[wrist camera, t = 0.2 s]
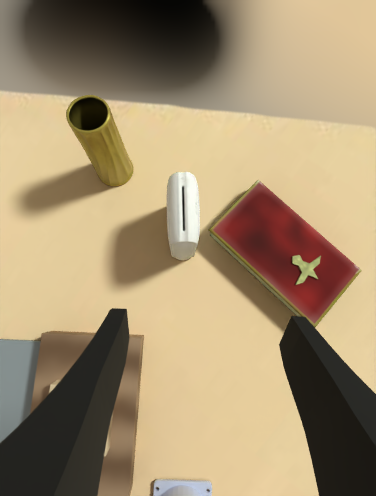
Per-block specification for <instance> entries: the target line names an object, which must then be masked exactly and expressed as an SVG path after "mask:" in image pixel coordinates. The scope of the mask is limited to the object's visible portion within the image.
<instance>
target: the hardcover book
mask: <svg viewBox="0 0 376 496" xmlns="http://www.w3.org/2000/svg"><path fill="white" fill-rule="evenodd" d="M209 231H210V232H211V234H210V236H211V237H212V238H214V239H215V240H216V241H217V242H218V243H219V244H220V245H221V246H222V247H223V248H224V249H225V250H226V251H228V252H229V253H230V254H231V255H232V256H233V257H234V258H235V259H236V260H237V261H238V262H239V263H240V264H242V265H243V266H244V267H245V268H246V269H247V270H248V271H249V272H250V273H251V274H252V275H253V276H254V277H256V278H257V279H258V280H259V281H260V282H261V283H262V284H263V285H264V286H265V287H266V288H267V289H268V290H270V291H271V292H272V293H273V294H274V295H275V296H276V297H277V298H278V299H279V300H280V301H281V302H283V303H284V304H285V305H286V306H287V307H288V308H289V309H290V310H291V311H292V312H293V313H294V314H295V315H297V316H302V317H306V318H307V319H308V320H309V322H310V323H311V324H312V325H313V326H314V327H316V326H317V325H318V323H319V322H320V321H321V320H322V318H323V317H324V316H325V315H326V314H327V312H328V311H329V310H330V309H331V307H332V306H333V305H334V304H335V303H336V301H337V300H338V299H339V298H340V296H341V295H342V294H343V293H344V291H345V290H346V289H347V288H348V287H349V285H350V284H351V283H352V282H353V280H354V279H355V278H356V277H357V276H358V274H359V273H360V272H361V271H362V270H361V269H359V268H358V267H357V266H356V265H355V264H354V263H353V262H351V261H350V260H349V259H348V258H347V257H346V256H345V255H343V254H342V253H341V252H340V251H339V250H338V249H337V248H335V247H334V246H333V245H332V244H331V243H330V242H329V241H327V240H326V239H325V238H324V237H323V236H322V235H321V234H319V233H318V232H317V231H316V230H315V229H314V228H313V227H311V226H310V225H309V224H308V223H307V222H306V221H305V220H303V219H302V218H301V217H300V216H299V215H298V214H297V213H295V212H294V211H293V210H292V209H291V208H290V207H289V206H287V205H286V204H285V203H284V202H283V201H282V200H281V199H279V198H278V197H277V196H276V195H275V194H274V193H273V192H271V191H270V190H269V189H268V188H267V187H266V186H265V185H263V184H262V183H261V182H260V181H259V180H257V181H256V182H255V183H254V184H253V185H252V186H251V187H250V189H249V190H248V191H247V192H246V193H245V194H244V195H243V196H242V197H241V198H240V199H239V200H238V201H237V202H236V203H235V204H234V205H233V206H232V207H231V208H230V209H229V210H228V211H227V212H226V213H225V214H224V215H223V216H222V217H221V218H220V219H219V220H218V221H217V222H216V223H215V224H214V225H213V226H212V227H211V228H210V229H209Z"/></svg>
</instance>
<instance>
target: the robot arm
mask: <svg viewBox="0 0 376 496" xmlns="http://www.w3.org/2000/svg"><path fill="white" fill-rule="evenodd" d="M128 345H129V328H128V318H127V309H113V308H112V309H111V310H110V311H109V313H108V315H107V316H106V318H105V320H104V321H103V323H102V325H101V326H100V328H99V329H98V331H97V332H96V334H95V335H94V337H93V338H92V340H91V341H90V343H89V344H88V345H87V347H86V348H85V350H84V351H83V353H82V354H81V355H80V357H79V358H78V359H77V360H76V362H75V363H74V364H73V366H72V367H71V368H70V369H69V371H68V372H67V373H66V375H65V376H64V377H63V378H62V379H61V381H60V382H59V383H58V384H57V385H56V386H55V388H54V389H53V390H52V391H51V392H50V393H49V394H48V395H47V397H46V398H45V399H44V400H43V401H42V402H41V403H40V404H39V405H38V406H37V407H36V408H35V409H34V410H33V411H32V413H31V414H30V415H29V416H28V417H27V418H26V419H25V420H24V421H23V422H22V423H21V424H20V425H19V426H18V427H17V428H16V429H15V430H14V431H13V432H12V433H10V434H9V435H8V436H7V437H6V438H5V439H4V440H3V441H2V442H1V443H0V496H98V489H99V483H100V477H101V471H102V465H103V459H104V453H105V448H106V442H107V436H108V431H109V426H110V421H111V417H112V413H113V409H114V406H115V402H116V398H117V394H118V390H119V387H120V383H121V379H122V375H123V371H124V368H125V364H126V358H127V352H128ZM279 346H280V351H281V356H282V361H283V366H284V369H285V373H286V376H287V379H288V382H289V385H290V388H291V391H292V394H293V397H294V400H295V403H296V406H297V409H298V412H299V415H300V418H301V421H302V424H303V427H304V431H305V434H306V438H307V442H308V447H309V451H310V455H311V459H312V464H313V468H314V473H315V478H316V482H317V487H318V492H319V496H376V394H375V393H374V392H373V391H372V390H371V389H370V388H369V387H368V386H367V385H366V384H365V383H364V382H363V381H362V380H361V379H360V378H359V377H358V376H357V375H356V374H355V373H354V372H353V371H352V369H351V368H350V367H349V366H348V365H347V364H346V363H345V362H344V361H343V360H342V359H341V357H340V356H339V355H338V354H337V353H336V352H335V351H334V350H333V349H332V347H331V346H330V345H329V344H328V343H327V342H326V340H325V339H324V338H323V337H322V336H321V335H320V333H319V332H318V331H317V330H316V329H315V327H314V326H313V325H312V324H311V323H310V322H309V320H308V319H307V318H306V317H302V316H291V319H290V321H289V323H288V325H287V328H286V330H285V332H284V335H283V337H282V339H281V342H280V344H279ZM156 487H159V489H156ZM207 489H210V490H209V491H207ZM153 496H212V484H211V482H210V481H199V480H169V479H156V480H155V482H154V491H153Z"/></svg>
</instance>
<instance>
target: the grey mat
mask: <svg viewBox="0 0 376 496" xmlns="http://www.w3.org/2000/svg"><path fill="white" fill-rule="evenodd" d="M40 342H41V341H32V340H9V339H0V443H1V442H2V441H3V440H4V439H5V438H6V437H7V436H8V435H9V434H10V433H12V432H13V431H14V430H15V429H16V428H17V427H18V426H19V425H20V424H21V423H22V422H23V421H24V420H25V419H26V418H27V417H28V416H29V415H30V410H31V403H32V397H33V390H34V383H35V376H36V369H37V363H38V356H39V349H40Z"/></svg>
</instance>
